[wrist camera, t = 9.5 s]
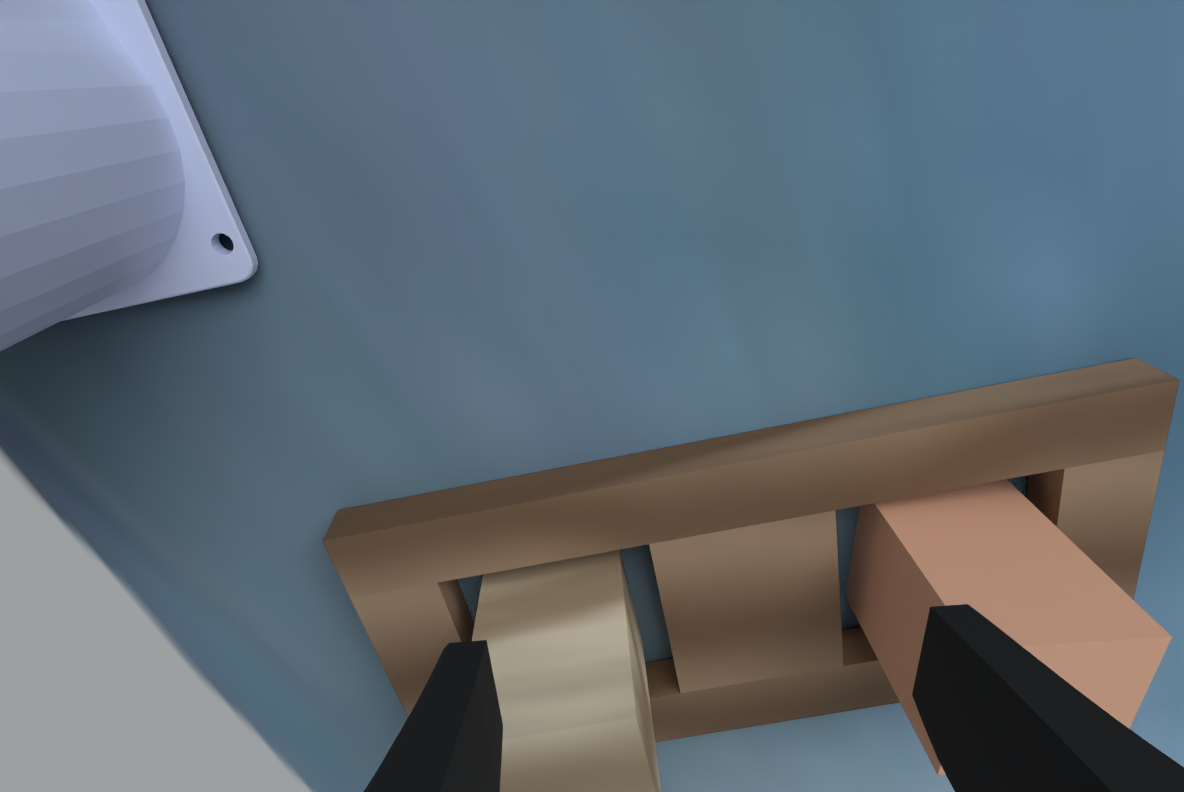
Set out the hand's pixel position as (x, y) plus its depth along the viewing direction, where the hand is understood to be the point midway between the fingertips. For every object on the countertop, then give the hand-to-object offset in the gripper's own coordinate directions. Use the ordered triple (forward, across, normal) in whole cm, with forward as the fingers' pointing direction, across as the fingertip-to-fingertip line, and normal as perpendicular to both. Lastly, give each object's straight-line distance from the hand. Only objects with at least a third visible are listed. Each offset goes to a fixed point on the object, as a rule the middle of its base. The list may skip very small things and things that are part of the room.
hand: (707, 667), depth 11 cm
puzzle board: (+9, -3, +7) cm, 12 cm away
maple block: (+10, +3, +8) cm, 12 cm away
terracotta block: (+10, -9, +6) cm, 14 cm away
